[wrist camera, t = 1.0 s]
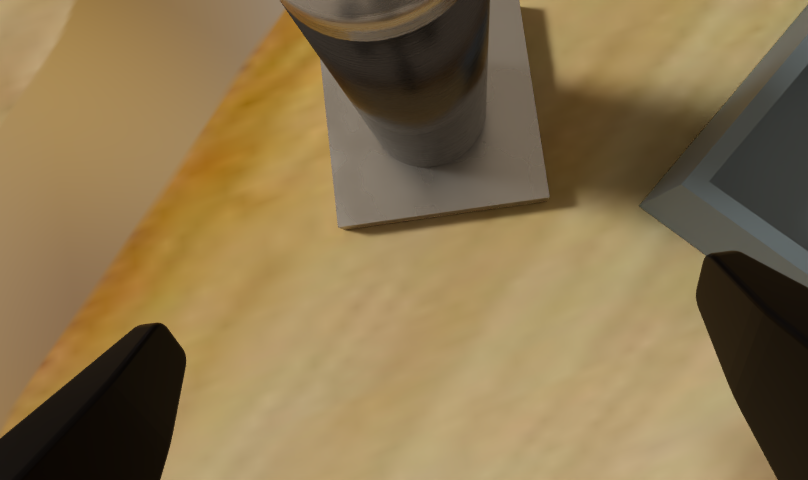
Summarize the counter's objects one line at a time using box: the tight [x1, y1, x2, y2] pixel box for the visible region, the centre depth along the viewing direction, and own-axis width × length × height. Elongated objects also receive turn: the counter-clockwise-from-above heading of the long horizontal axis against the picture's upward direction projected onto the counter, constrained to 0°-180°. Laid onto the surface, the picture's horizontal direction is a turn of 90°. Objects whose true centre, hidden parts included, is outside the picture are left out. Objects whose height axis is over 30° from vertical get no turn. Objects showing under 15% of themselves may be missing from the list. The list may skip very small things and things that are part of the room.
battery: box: [280, 0, 490, 167], centre depth 15 cm, size 5×5×13 cm
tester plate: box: [320, 0, 550, 230], centre depth 22 cm, size 9×9×1 cm
